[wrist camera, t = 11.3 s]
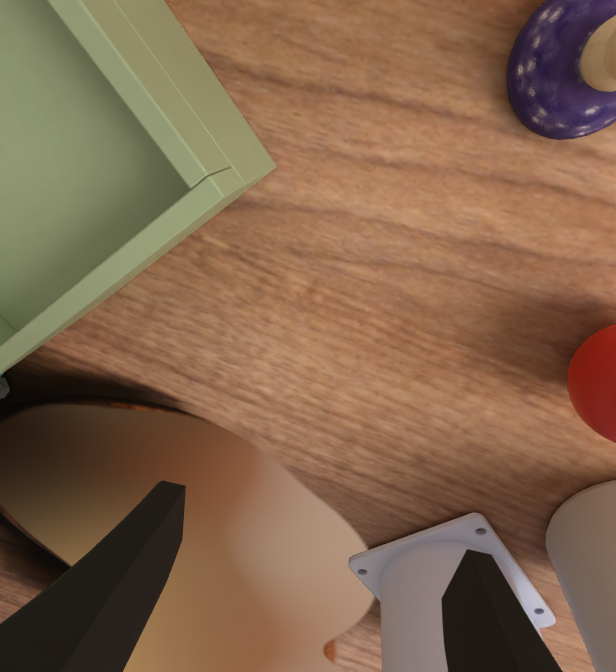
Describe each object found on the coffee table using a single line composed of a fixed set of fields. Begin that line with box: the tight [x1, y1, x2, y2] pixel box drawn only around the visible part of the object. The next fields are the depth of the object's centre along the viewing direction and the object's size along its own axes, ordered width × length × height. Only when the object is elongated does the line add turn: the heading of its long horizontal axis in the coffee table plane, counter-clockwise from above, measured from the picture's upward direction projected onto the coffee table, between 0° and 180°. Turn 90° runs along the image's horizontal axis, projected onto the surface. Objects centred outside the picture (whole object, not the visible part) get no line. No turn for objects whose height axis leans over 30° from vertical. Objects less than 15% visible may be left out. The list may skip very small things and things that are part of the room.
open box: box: [0, 0, 277, 375], centre depth 14 cm, size 10×10×7 cm
